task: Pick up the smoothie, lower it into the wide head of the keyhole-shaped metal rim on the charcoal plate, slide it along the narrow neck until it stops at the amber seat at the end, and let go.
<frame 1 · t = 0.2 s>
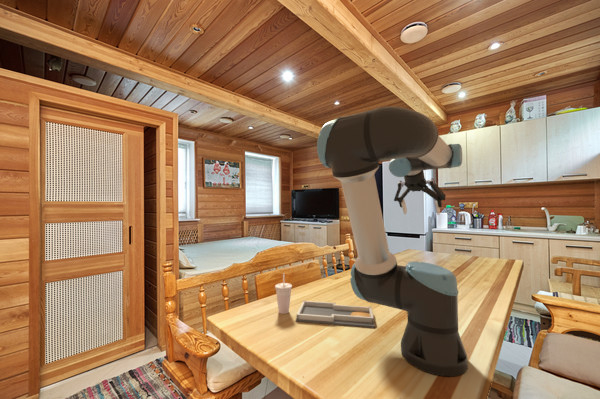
hand: (421, 212, 111), 36 cm above the table, tool tilted 35°, fingers open, 13 cm apart
smoothie: (283, 312, 93), on the table
keyhole plate: (335, 315, 89), on the table
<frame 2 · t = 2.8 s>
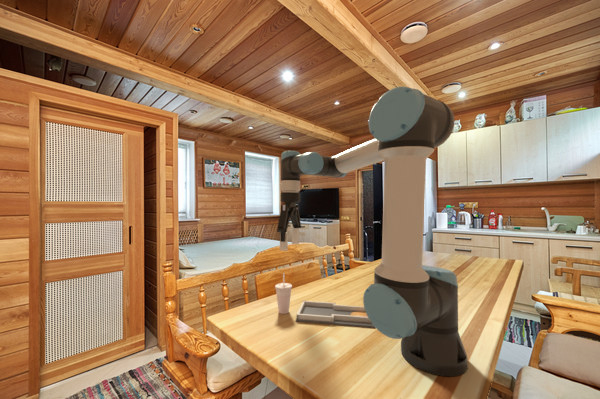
hand: (289, 247, 96), 23 cm above the table, tool pointing down, fingers open, 13 cm apart
nothing on the table moved.
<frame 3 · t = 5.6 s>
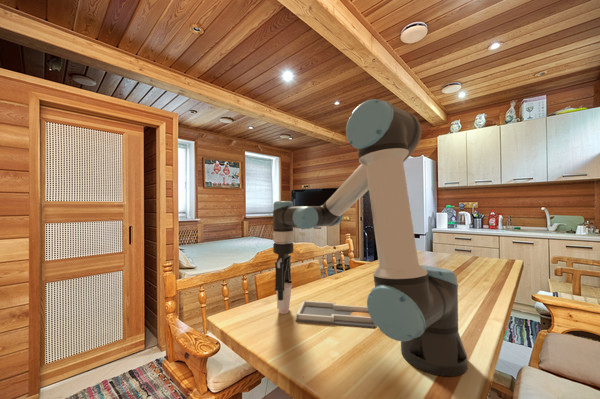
hand: (283, 304, 93), 3 cm above the table, tool pointing down, fingers closed on smoothie, 6 cm apart
smoothie: (283, 312, 93), on the table, touching gripper
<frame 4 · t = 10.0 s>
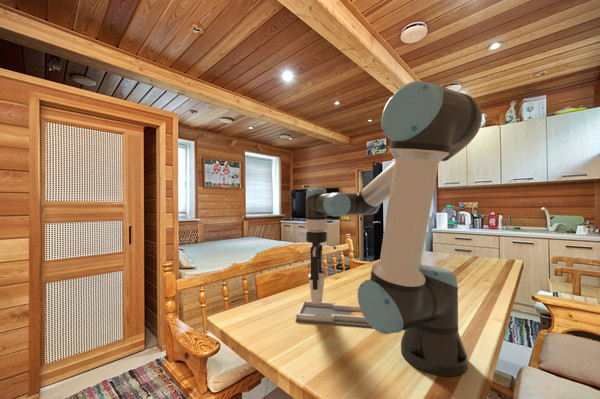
hand: (316, 294, 91), 7 cm above the table, tool pointing down, fingers closed on smoothie, 6 cm apart
smoothie: (316, 302, 91), point 4 cm above the table, touching gripper
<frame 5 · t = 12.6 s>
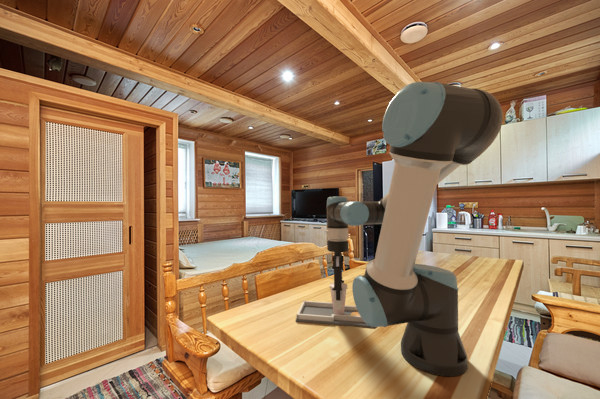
hand: (338, 304, 89), 4 cm above the table, tool pointing down, fingers closed on smoothie, 6 cm apart
smoothie: (338, 313, 89), point 1 cm above the table, touching gripper
when the fingers open (4 cm above the table, at t = 14.6 s): smoothie stays where it is, resting on keyhole plate.
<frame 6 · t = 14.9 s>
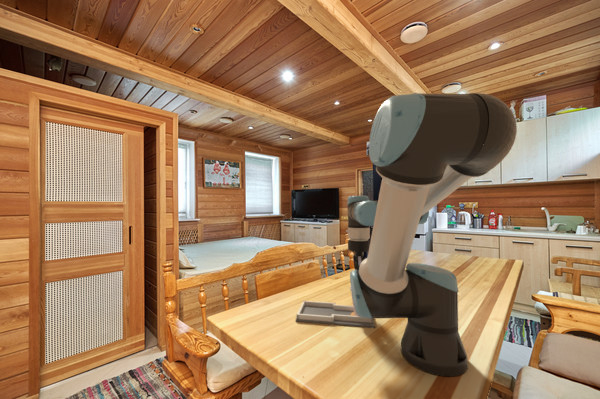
hand: (359, 303, 88), 5 cm above the table, tool pointing down, fingers open, 9 cm apart
smoothie: (359, 315, 88), point 1 cm above the table, touching keyhole plate
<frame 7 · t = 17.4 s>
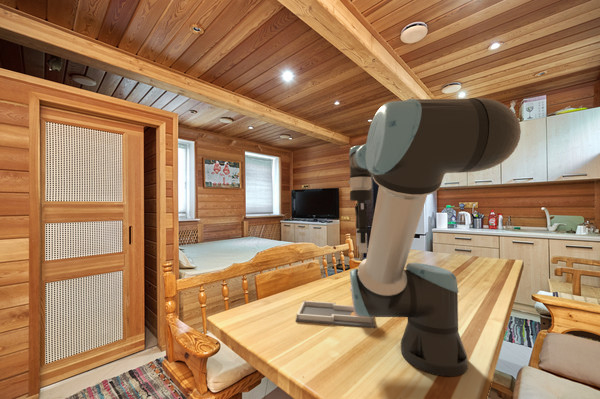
hand: (361, 249, 89), 24 cm above the table, tool pointing down, fingers open, 13 cm apart
nothing on the table moved.
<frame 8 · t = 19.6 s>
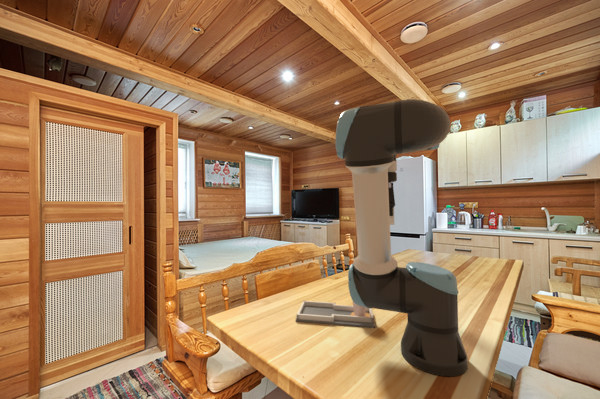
hand: (387, 223, 104), 32 cm above the table, tool pointing down, fingers open, 13 cm apart
nothing on the table moved.
at the end: smoothie 0.2 cm from the target spot on the keyhole plate, point 0.5 cm above the keyhole plate's base; smoothie tilted 1°; the gripper is holding nothing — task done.
